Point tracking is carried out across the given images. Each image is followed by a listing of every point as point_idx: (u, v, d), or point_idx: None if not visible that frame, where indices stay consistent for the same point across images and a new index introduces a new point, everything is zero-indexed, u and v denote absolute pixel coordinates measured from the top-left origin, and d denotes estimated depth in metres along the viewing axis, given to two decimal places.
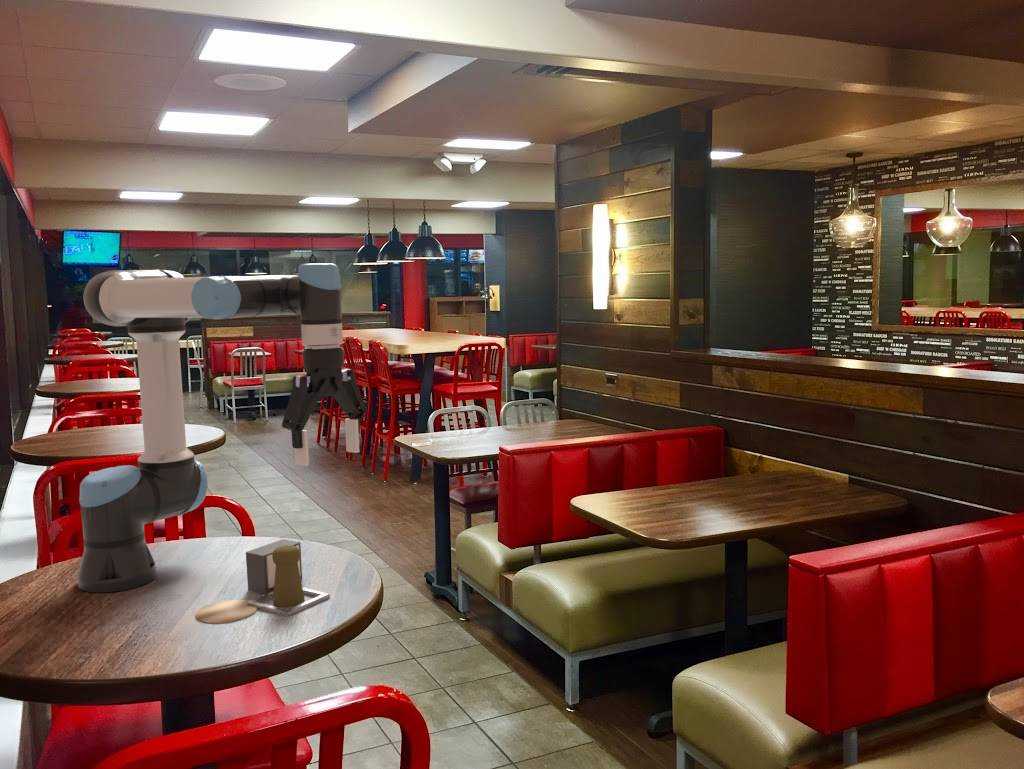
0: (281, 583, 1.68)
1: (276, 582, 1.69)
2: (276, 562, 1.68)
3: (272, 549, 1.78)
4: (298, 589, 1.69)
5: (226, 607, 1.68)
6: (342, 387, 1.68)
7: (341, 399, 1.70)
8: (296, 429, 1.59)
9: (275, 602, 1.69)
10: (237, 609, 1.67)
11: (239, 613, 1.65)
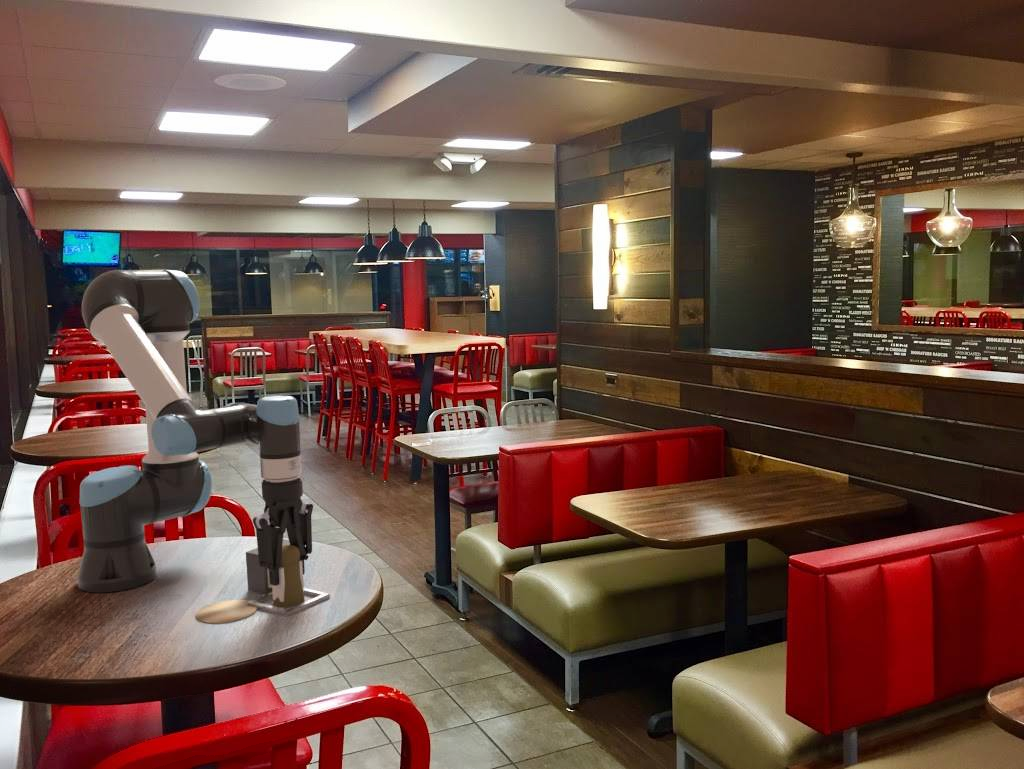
0: None
1: None
2: None
3: None
4: (298, 589, 1.69)
5: (226, 607, 1.68)
6: (298, 519, 1.70)
7: (292, 533, 1.71)
8: (274, 569, 1.66)
9: (275, 602, 1.69)
10: (237, 609, 1.67)
11: (239, 613, 1.65)
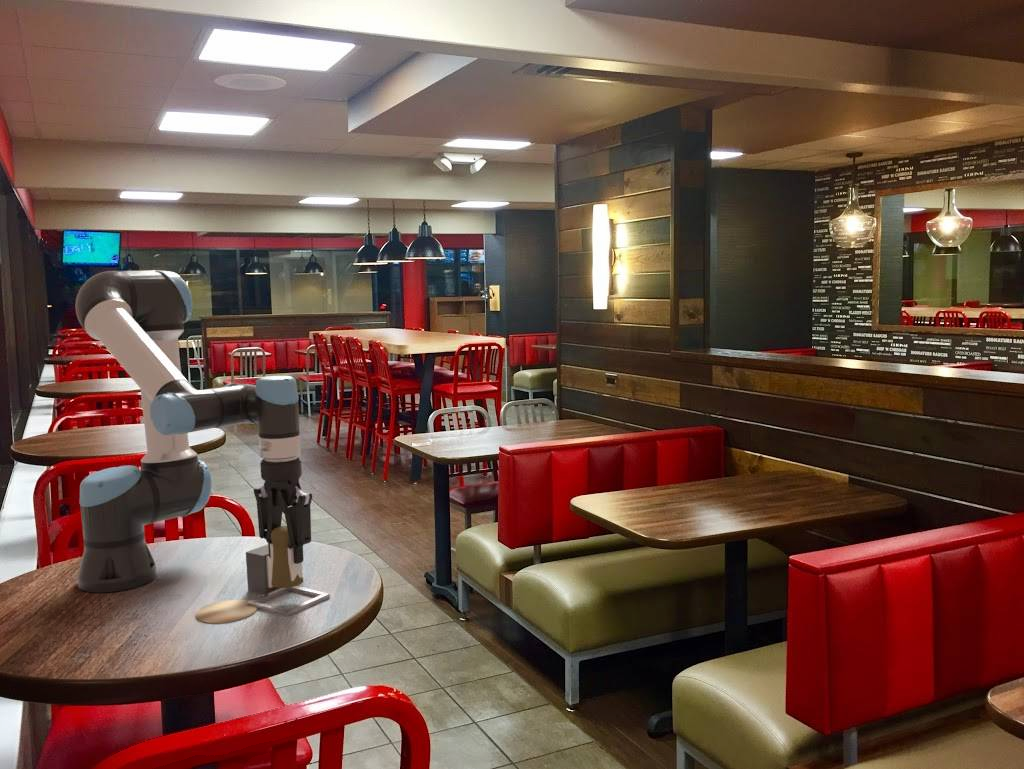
0: None
1: None
2: None
3: None
4: (277, 572, 1.68)
5: (226, 607, 1.68)
6: (284, 504, 1.66)
7: None
8: None
9: None
10: (237, 609, 1.67)
11: (239, 613, 1.65)
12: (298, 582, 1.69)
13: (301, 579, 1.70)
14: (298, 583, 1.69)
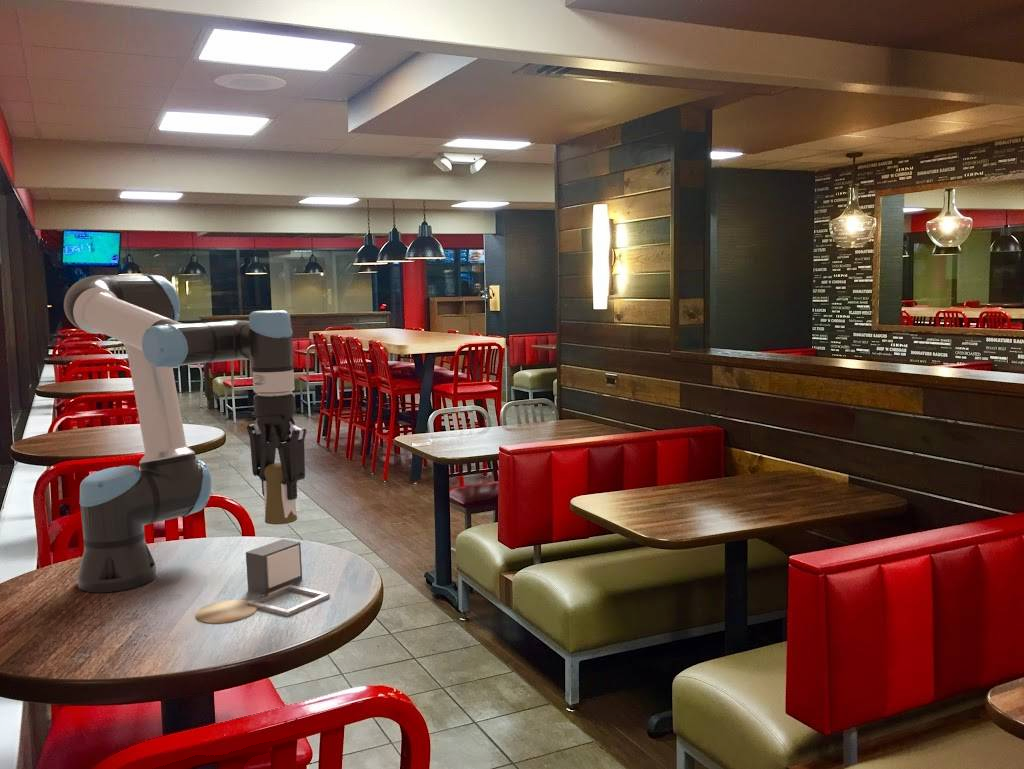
0: None
1: None
2: None
3: (272, 549, 1.78)
4: (270, 509, 1.66)
5: (226, 607, 1.68)
6: (277, 440, 1.65)
7: None
8: None
9: None
10: (237, 609, 1.67)
11: (239, 613, 1.65)
12: (291, 519, 1.67)
13: (295, 516, 1.68)
14: (292, 520, 1.67)
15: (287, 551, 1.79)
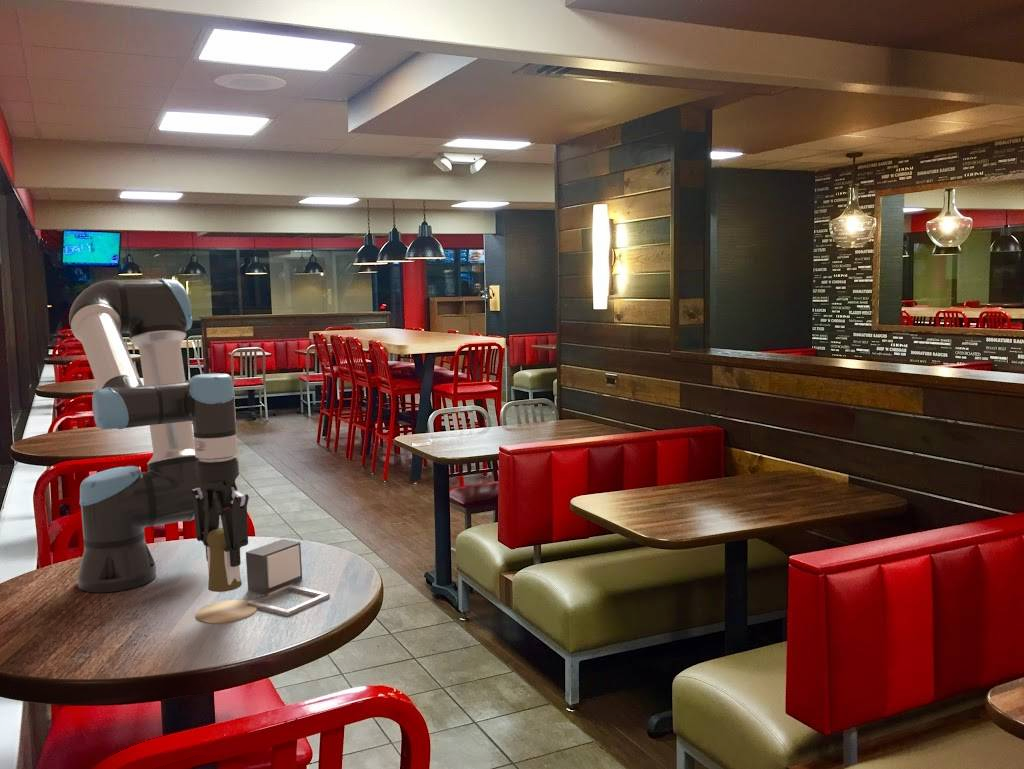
0: None
1: None
2: None
3: (272, 549, 1.78)
4: (213, 576, 1.63)
5: (226, 607, 1.68)
6: (219, 506, 1.61)
7: None
8: None
9: None
10: (237, 609, 1.67)
11: (239, 613, 1.65)
12: (235, 586, 1.64)
13: (239, 583, 1.65)
14: (235, 587, 1.64)
15: (287, 551, 1.79)
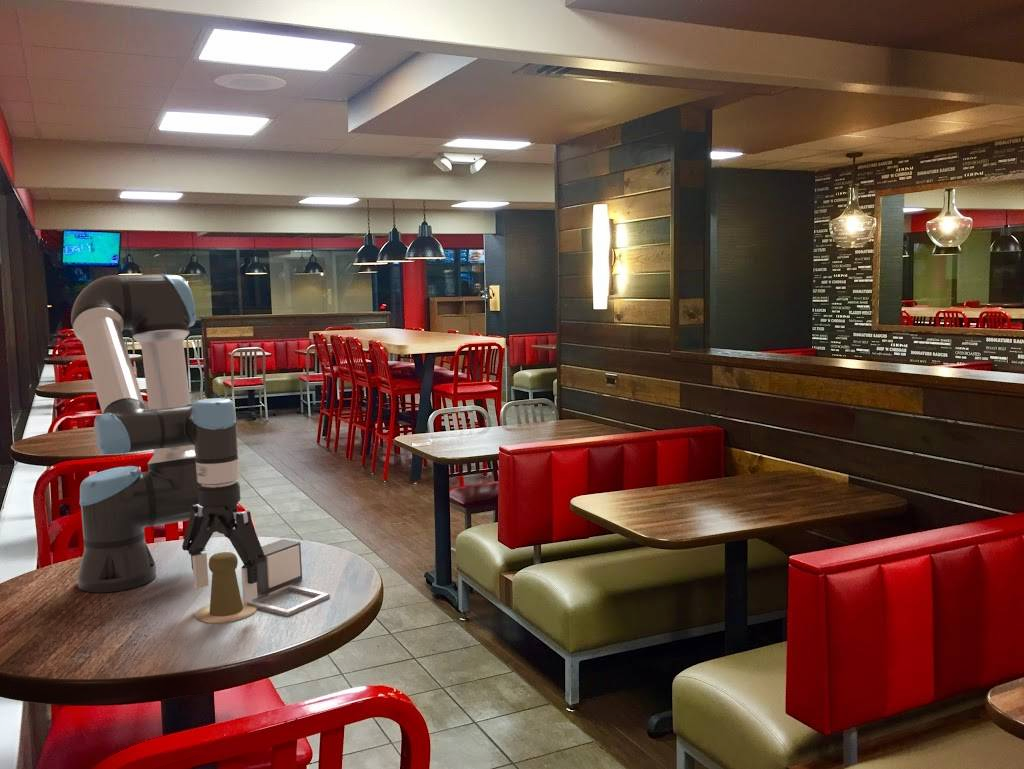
0: None
1: None
2: None
3: (272, 549, 1.78)
4: (214, 600, 1.64)
5: None
6: (224, 528, 1.61)
7: None
8: None
9: None
10: None
11: (239, 613, 1.65)
12: (236, 610, 1.65)
13: (240, 607, 1.66)
14: (236, 611, 1.65)
15: (287, 551, 1.79)
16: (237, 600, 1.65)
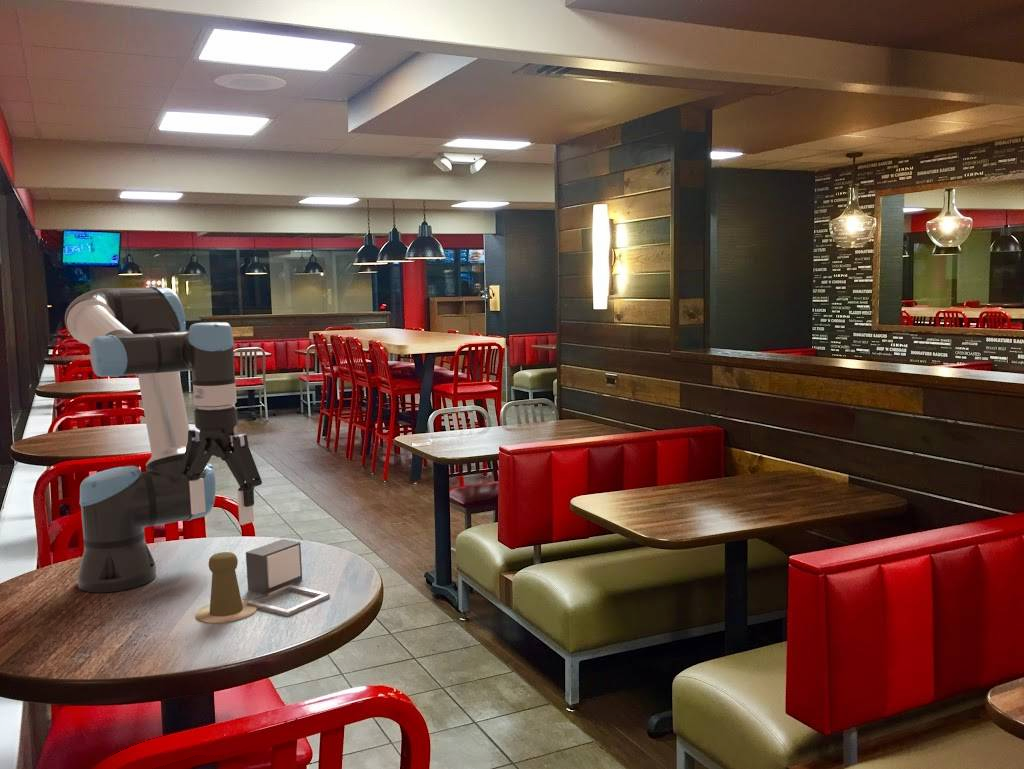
0: None
1: None
2: None
3: (272, 549, 1.78)
4: (214, 600, 1.64)
5: None
6: (221, 451, 1.62)
7: None
8: None
9: None
10: None
11: (239, 613, 1.65)
12: (236, 610, 1.65)
13: (240, 607, 1.66)
14: (236, 611, 1.65)
15: (287, 551, 1.79)
16: (237, 600, 1.65)
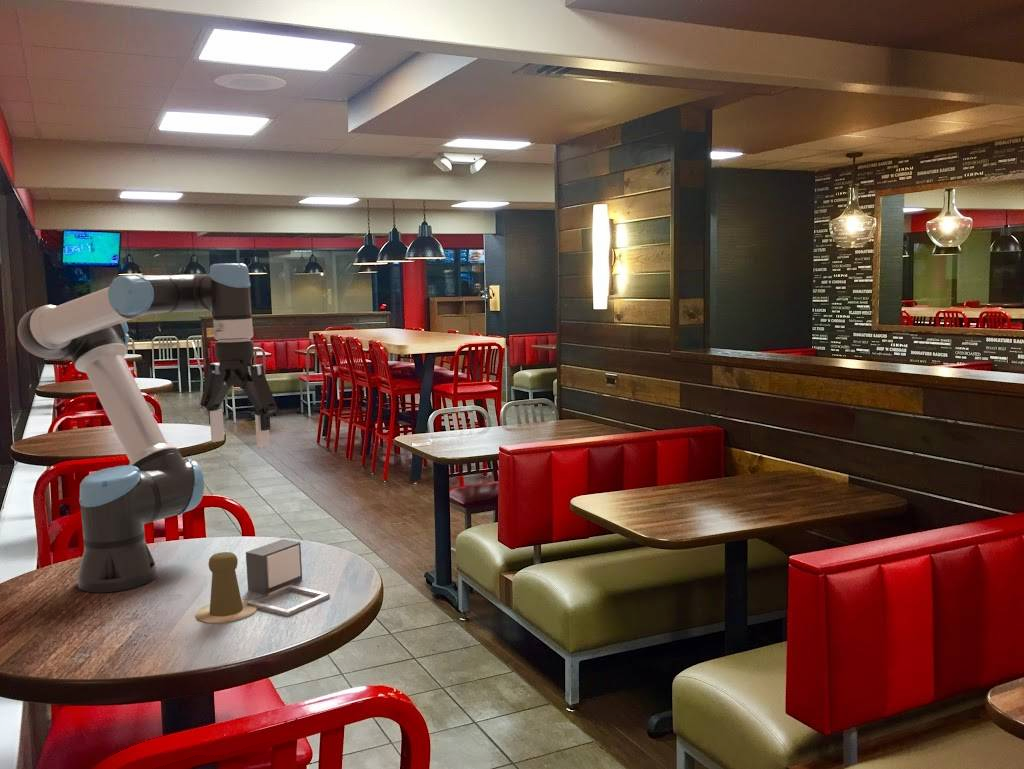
0: None
1: None
2: None
3: (272, 549, 1.78)
4: (214, 600, 1.64)
5: None
6: (239, 380, 1.77)
7: None
8: None
9: None
10: None
11: (239, 613, 1.65)
12: (236, 610, 1.65)
13: (240, 607, 1.66)
14: (236, 611, 1.65)
15: (287, 551, 1.79)
16: (237, 600, 1.65)
